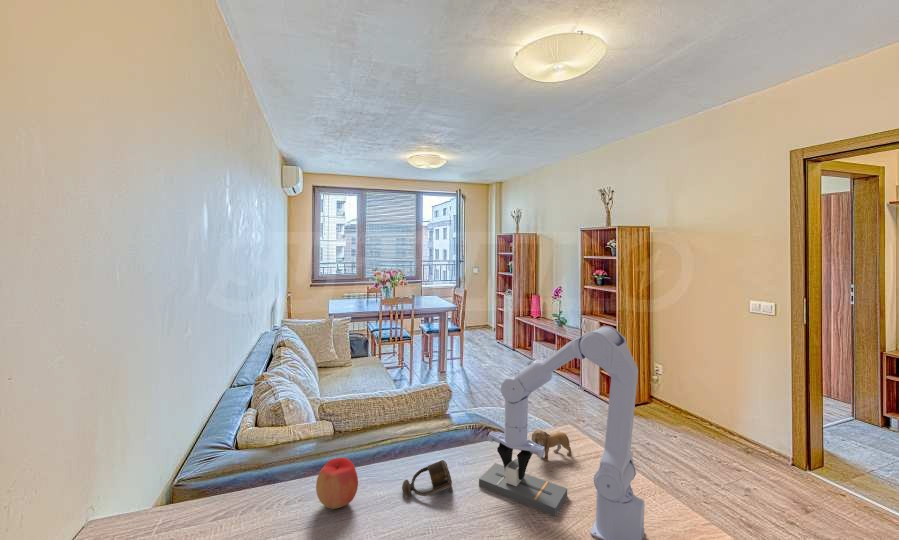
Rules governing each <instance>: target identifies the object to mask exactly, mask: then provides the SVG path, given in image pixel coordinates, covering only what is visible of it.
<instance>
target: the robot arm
mask: <svg viewBox="0 0 899 540" xmlns="http://www.w3.org/2000/svg"><path fill="white" fill-rule="evenodd" d="M574 359H579V360H584V359H587V360H588V361H590V362H591V363H592V364H594V365H597V367H599V368H601V369H603V370H604V371H605V373H607V375H609V377H610V387H609V398H608V406H607V407H608V409H607V419H606V428H605V429H606V430H605V439H604V440H605V442H604V448H603V452H602V455H601V458H600V462H599V468H598V470H597V471H596V472H595V473H594V475H593V484H594V487H595V489H596V504H595V505H596V507H595V508H596V509H595V520H594V523H593V524H592V527H591V529H590V531H589V532H590V536H593V537H595V538H598V539H600V540H643V538H645V507H646V506H645V500H644V499H642V498H639V497H638V496H636V495H635V494H634V490H633V488H632V486H631V483H632V481H633V480H634V479H635V477H636V475H637V470H636V466H635V463H634V460H633V459H634V458H633V457H634V453H633V451H632V449H631V446H632V436H633V428H634V416H635V410H636V409H635V405H636V398H637V387H638V380H639V379H638V376H639V368H638V366H637V364H636V361H635V359H634V357H633V355H632V353H631V351H630V349H629V346H628V342H627V339H626V337H625V336H623V334H622V333H620V332H619V330H618V329H616V328H614V327H613V326H609V325H602V326H599V327H598V328H596V329H595V330H593V331H590V332H586V333H584V334H583V335H581V336H579V337H577V338H574V339H572V340H570V341H568V343H566V344H564V345H563V346H562V347H561V348H559V349H558V350H557V351H555V352H554V353H553V354H551V355H550V356H549V357H547V358H546V359H545V360H542V359H531V360H529V361H527V362H526V364H527V365H526V366H524V368H522V369H521V370H516V371H514V373H513V374H514V375H513V376H511V377H508V378H505V379H504V381H503V382H502V383H501V386H500V391H501V396H502V397H503V399H504V432H499V431H498V432H497V431H490V432H489V433H488V442H490V443H493V442H495V443H498V444H499V445H498V447H497V453H498V454H499V456H500V458H501V460H502V464H503V466H504V468H505V470H506V466H507V465H508V464H509V463H510V462H511V461H512V460H513V450H519V452H518V454H517V455H516V457H517V458H516V459H518V464H519V475H518V476H519V479H520V480H522V479H523V478H524V476H525V474H526V470H527V467H528V464H529V462H530V460H531V458H532V456H533V455H536V456H537V455H538V456H537V457H538V458H540V459H542V458H543V457H545V447H543V446H540V445H538V444H536V443H534V442H532V439H531V440H530V439H529V438H528V420H529V419H528V414H529V412H528V410H529V408H528V406H529V396H530V395H532V393H533V392H534V391H536V390H538V389H540V388H542V387H543V386H544V385H545V384H546V385H547V383H549V382H550V381H552V378H553V372H554V371H556V370H558V369H559V368H561V367H562V366H564V365H565V364H568V362H570V361H573V360H574Z"/></svg>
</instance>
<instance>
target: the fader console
mask: <svg viewBox="0 0 899 540" xmlns="http://www.w3.org/2000/svg"><path fill="white" fill-rule="evenodd" d="M478 487H480V488H483V489H485V490H487V491H490V492H492V493H494V494H498V495H500V496H502V497H505V498H508V499H510V500H513V501H514V502H517V503H519V504H522V505H525V506H527V507H528V508H529V507H530V508H532V509H536V510H537V511H540V512H543V513H545V514H547V515H550V516H552V517H554V518H555V517H556V516H557V514H558V513H559V511H560V509H562V506H563V504H564V502H565V501H566V499H567V498H568V488H567V487H566V486H562V485H559V484H556V483H553V482H550V481H548V480H545V479H542V478H540V477H536V476H535V475H534V476H533V475H530V474H528V473H525V476H524V478H523V479H522V480H521V481H520V483H519V484H518V485H517V486H514V485H511V484H508V483H506V482H505V468H504V465H502V464H499V463H496V462H494V463H493V464H492V465H491V466H490V467H489V468H488V470H486V471H485V472H484V473H483V474H482V475H481V476H480V477H479V478H478Z"/></svg>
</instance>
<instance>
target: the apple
mask: <svg viewBox="0 0 899 540" xmlns="http://www.w3.org/2000/svg"><path fill="white" fill-rule="evenodd" d="M358 487H359V476H358V472H357V469H356V466H355V465H354V463H353V462H352V460H350V459H349V458H347V457H337V458H332V459H330V460H328V461H327V462H326V464H324V466H322V467H321V469H320V472H319V473H318V476H317V479H316V485H315V492H316V496H317V498H318V500H319V502H320V503H321V504H322V505H323V506H324V507H326V508H328V509H331V510H332V509H333V510H334V509H335V510H336V509H340V508H342V507H345V506H347V505H349V503H351V502H352V501H353V500H354V499H355V497H356V495H357V492H358V489H359V488H358Z"/></svg>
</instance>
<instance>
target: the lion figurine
mask: <svg viewBox="0 0 899 540" xmlns="http://www.w3.org/2000/svg"><path fill="white" fill-rule="evenodd" d="M569 439H570V438H569V436H568V435H567V434H566V433H564V432H561V431H558V432H555V433H552V434H549V433H547V432H546V431H543V430H542V429H536V430H534V431H533V432H532V434H531V441H532V442H534V443H536V444H538V445H540V446H543V447H545V451H544V458H543V462H544V461H545V462H548V460H549V451H550V448H554V447H556V446H557V448H556V449H553V452H554V453H559V452H560V450H561V449H562V447H563V448H564V449H566V450H567V451H568V452H567V453H566V455H567V456H568V457H571V456H572V449H571V448H572V447H571V446H570V440H569ZM536 456H537V457H538V455H536Z"/></svg>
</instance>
